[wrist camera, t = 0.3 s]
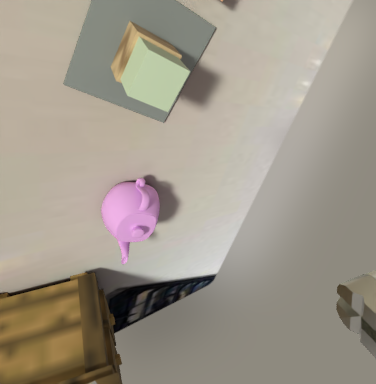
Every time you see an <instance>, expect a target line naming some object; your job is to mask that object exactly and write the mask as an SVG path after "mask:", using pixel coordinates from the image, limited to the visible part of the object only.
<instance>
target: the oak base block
mask: <svg viewBox="0 0 376 384" xmlns="http://www.w3.org/2000/svg"><path fill="white" fill-rule="evenodd" d="M139 36H140V37H141V38H143V39H145V40H147V41H149V42H151V43H152V44H154V45H156V46H158V47H160V48H162V49H164V50H165V51H167V52H169V53H171V54H173V55H175V56H176V57H178V58H179V59H181V57H182V55H181V54H180V53H179V52H178V51H177V50H176V49H175V47H174V46H173V45H172V44H170V43H169V42H167V41H165V40H163V39H161V38H160V37H158V36H156V35H154V34H153V33H151V32H149V31H147V30H146V29H144V28H142V27H140V26H138V25H137V24H135V23H133V22H131V21H129V23H128V26H127V28H126V31H125V33H124V35H123V38H122V40H121V43H120V45H119V48H118V50H117V52H116V55H115V57H114V60H113V62H112V65H111V69H112V72H113V74H114V77H115V79H116V81H117V82H120V83H122V82H121V80H120V79H121V76H122V74H123V72H124V70H125V67H126V65H127V63H128V60H129V58H130V56H131V54H132V51H133V49H134V47H135V44H136V42H137V40H138V37H139Z"/></svg>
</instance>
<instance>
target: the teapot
mask: <svg viewBox="0 0 376 384" xmlns="http://www.w3.org/2000/svg"><path fill="white" fill-rule="evenodd" d="M159 209H160V203H159V196H158V193H157V191H156V190H155V189H154V188H153V187H151V186H149V185H146V184H145V180H144V179H143V178H139V179H137V181H136V182H122V183H119V184H117V185H115V186H114V187H113V188H112V189H111V190H110V191H109V193H108V194H107V195H106V197H105V199H104V201H103V204H102V209H101V214H102V218H103V222H104V224H105V226H106V228H107V229H108V231H109V232H110V233H111V234H112V235H113V236H114V237H115V238H116V239H117V241H118V243H119V246H120V248H121V252H122V264H125V263H126V262H127V260H128V254H129V244H130V242H139V241H143V240H145V239H147V238H148V237H149V236H150V235H151V234H152V232H153V231H154V229H155V227H156V224H157V220H158V216H159Z"/></svg>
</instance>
